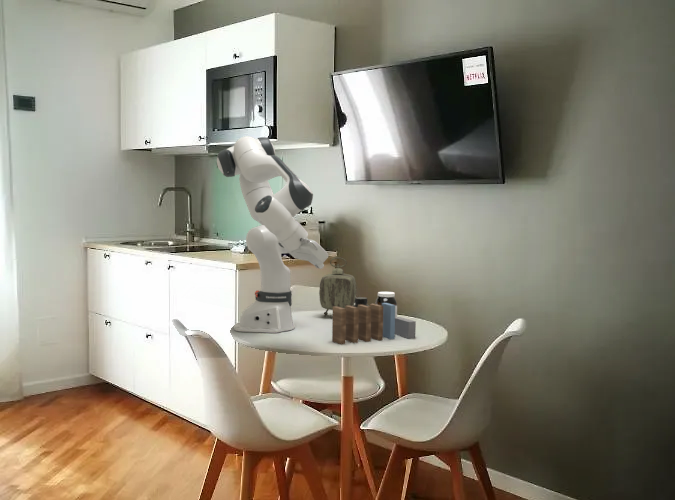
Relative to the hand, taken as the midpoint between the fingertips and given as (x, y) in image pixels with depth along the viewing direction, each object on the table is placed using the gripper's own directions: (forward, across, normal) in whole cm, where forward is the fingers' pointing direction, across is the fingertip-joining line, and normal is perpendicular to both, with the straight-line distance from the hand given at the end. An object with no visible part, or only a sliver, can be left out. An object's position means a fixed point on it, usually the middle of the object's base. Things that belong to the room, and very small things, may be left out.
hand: (321, 267), depth 224 cm
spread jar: (+50, +30, -12) cm, 59 cm away
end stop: (+43, +2, -6) cm, 44 cm away
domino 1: (+24, +2, +13) cm, 28 cm away
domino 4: (+35, +2, +2) cm, 35 cm away
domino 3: (+31, +2, +6) cm, 32 cm away
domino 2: (+28, +2, +9) cm, 29 cm away
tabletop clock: (+41, +45, -4) cm, 61 cm away
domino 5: (+38, +2, -1) cm, 39 cm away
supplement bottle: (+38, +18, 0) cm, 42 cm away
